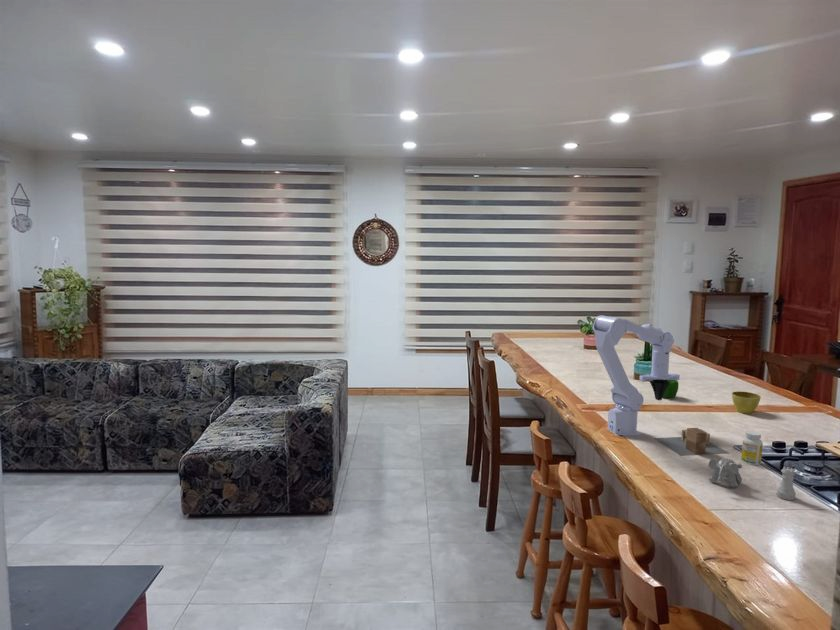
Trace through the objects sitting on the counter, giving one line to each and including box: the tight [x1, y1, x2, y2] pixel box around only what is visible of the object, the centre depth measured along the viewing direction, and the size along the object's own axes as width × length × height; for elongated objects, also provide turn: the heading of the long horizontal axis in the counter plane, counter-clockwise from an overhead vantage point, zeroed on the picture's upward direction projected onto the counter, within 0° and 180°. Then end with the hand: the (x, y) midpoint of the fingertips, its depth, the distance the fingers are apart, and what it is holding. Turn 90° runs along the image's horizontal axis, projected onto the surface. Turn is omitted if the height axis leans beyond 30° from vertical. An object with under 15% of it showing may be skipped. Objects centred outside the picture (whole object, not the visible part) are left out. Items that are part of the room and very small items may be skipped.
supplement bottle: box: [740, 430, 764, 466], centre depth 173 cm, size 5×5×10 cm
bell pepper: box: [662, 380, 679, 399], centre depth 245 cm, size 8×8×10 cm
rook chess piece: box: [776, 466, 797, 501], centre depth 149 cm, size 4×4×8 cm
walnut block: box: [686, 427, 708, 454], centre depth 181 cm, size 4×5×7 cm
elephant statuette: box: [708, 457, 743, 489], centre depth 157 cm, size 9×12×8 cm
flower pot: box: [731, 390, 762, 415], centre depth 225 cm, size 10×10×7 cm
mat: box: [653, 436, 729, 457], centre depth 187 cm, size 17×16×1 cm
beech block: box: [681, 428, 711, 444], centre depth 190 cm, size 4×5×7 cm
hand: (658, 399), depth 205 cm, fingers closed
